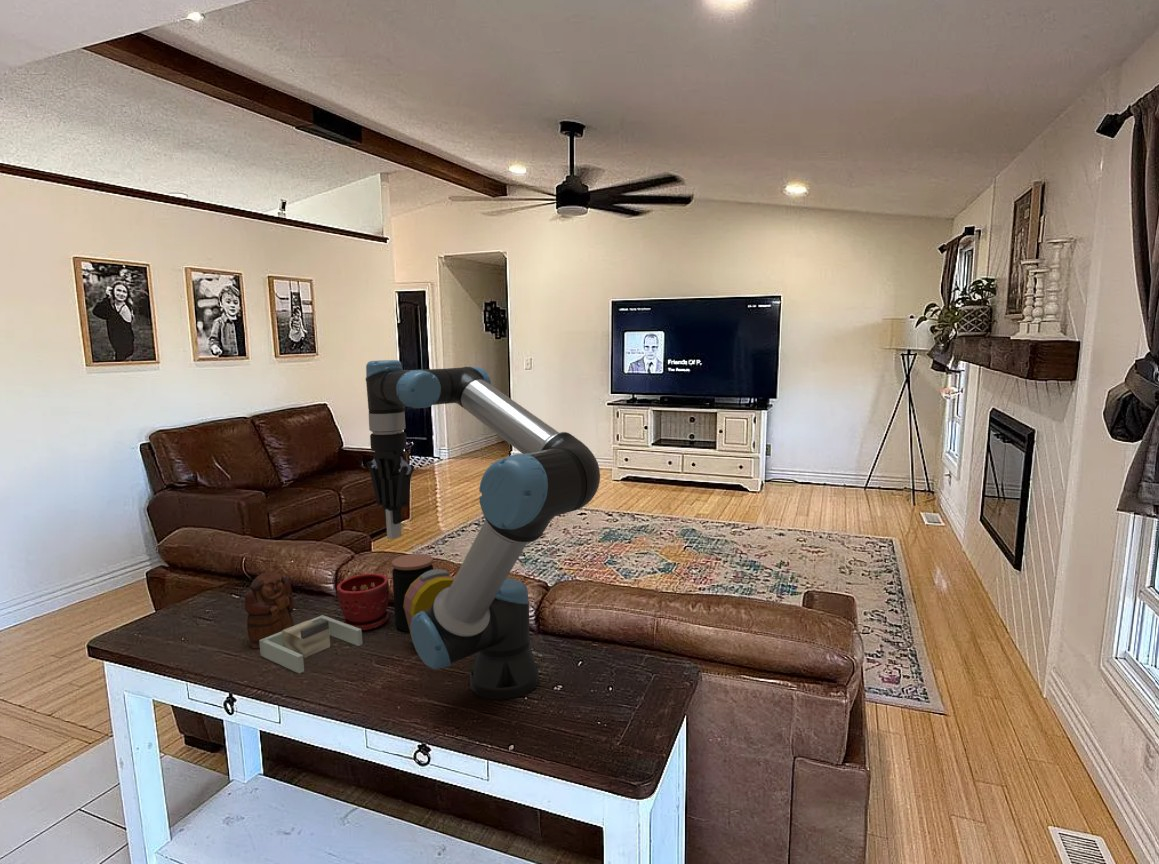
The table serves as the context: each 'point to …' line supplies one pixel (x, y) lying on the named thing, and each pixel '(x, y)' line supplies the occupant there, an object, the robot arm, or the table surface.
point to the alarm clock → (425, 592)
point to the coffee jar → (407, 581)
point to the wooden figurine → (268, 606)
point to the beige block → (307, 637)
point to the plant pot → (364, 600)
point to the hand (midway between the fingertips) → (394, 537)
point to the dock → (293, 660)
